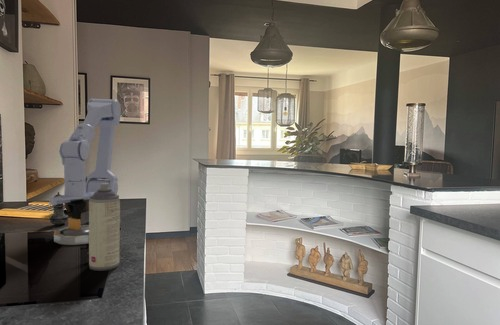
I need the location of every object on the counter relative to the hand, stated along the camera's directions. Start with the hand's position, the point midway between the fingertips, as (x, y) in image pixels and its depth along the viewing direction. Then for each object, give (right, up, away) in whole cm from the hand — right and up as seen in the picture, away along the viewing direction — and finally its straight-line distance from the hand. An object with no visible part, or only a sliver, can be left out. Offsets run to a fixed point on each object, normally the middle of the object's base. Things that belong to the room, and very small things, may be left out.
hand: (75, 225), depth 108 cm
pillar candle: (-19, -1, +40) cm, 44 cm away
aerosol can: (+17, -6, -21) cm, 28 cm away
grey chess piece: (-12, -3, +12) cm, 17 cm away
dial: (+3, -3, -2) cm, 5 cm away
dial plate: (+3, -4, -2) cm, 6 cm away
